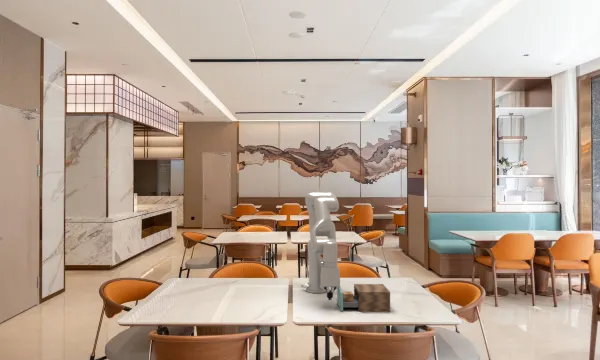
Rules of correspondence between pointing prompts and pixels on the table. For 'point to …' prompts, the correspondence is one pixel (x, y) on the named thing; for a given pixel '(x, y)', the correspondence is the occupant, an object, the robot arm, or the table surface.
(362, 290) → the cabinet
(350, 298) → the cube
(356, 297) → the teal drawer
